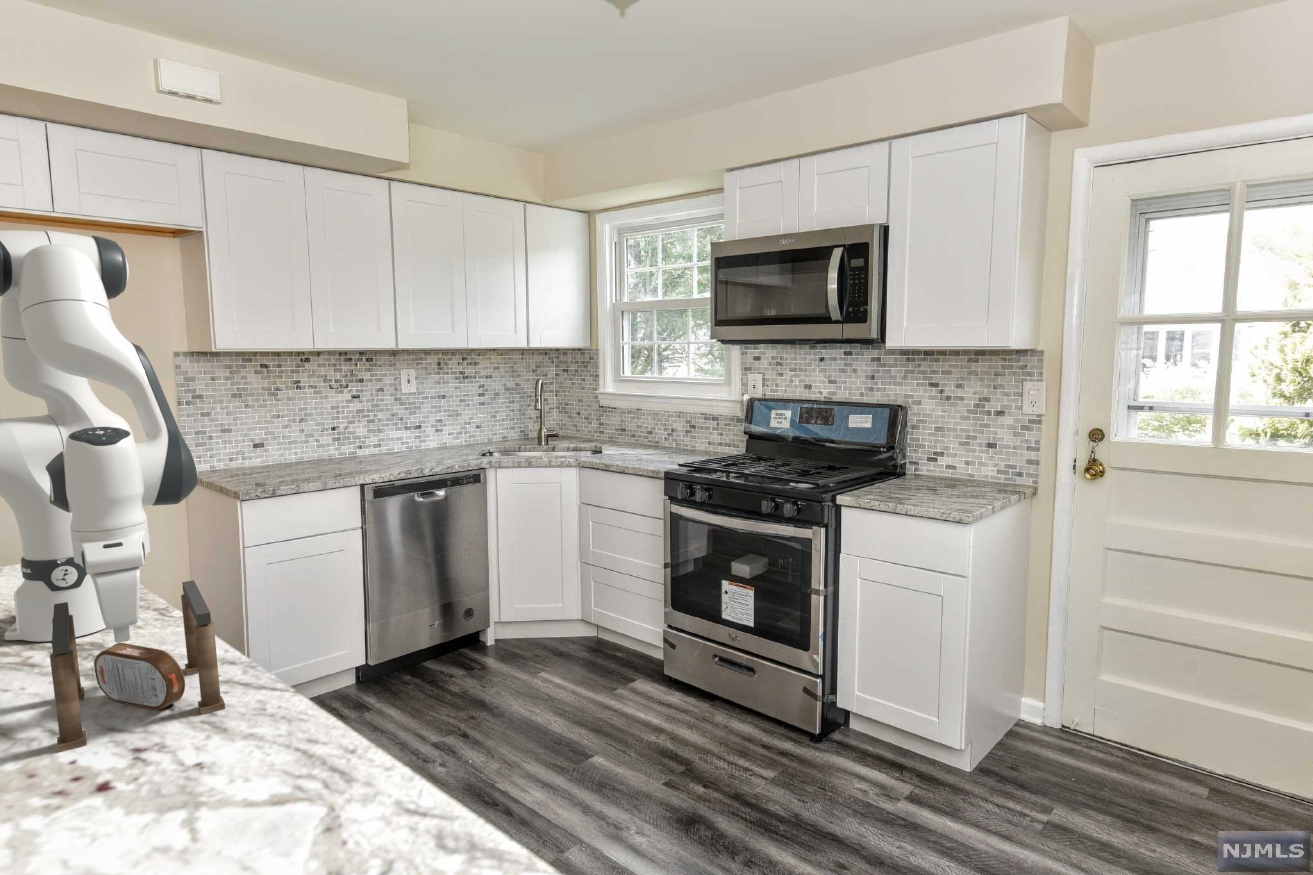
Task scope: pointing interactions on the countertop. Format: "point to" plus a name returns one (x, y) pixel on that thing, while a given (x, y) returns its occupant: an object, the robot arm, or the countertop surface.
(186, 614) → the wooden stanchion pair
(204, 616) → the dark grey beam
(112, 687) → the tin
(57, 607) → the grey bar
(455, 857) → the countertop surface
